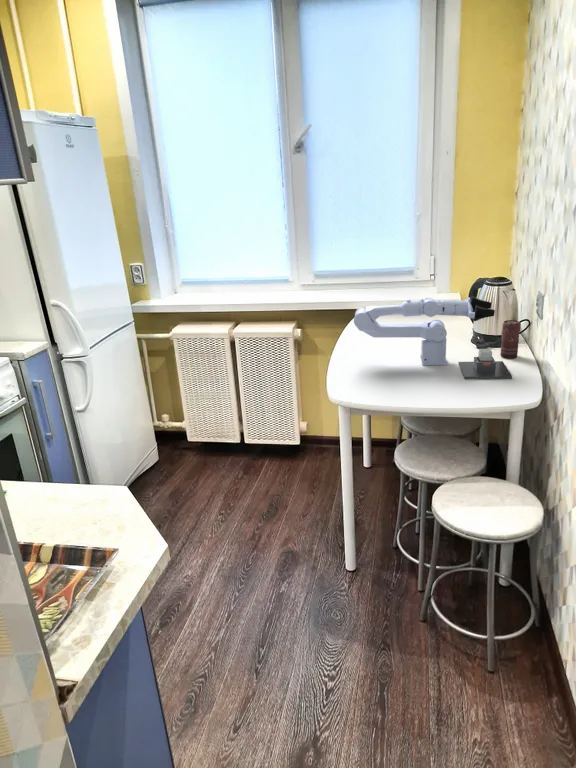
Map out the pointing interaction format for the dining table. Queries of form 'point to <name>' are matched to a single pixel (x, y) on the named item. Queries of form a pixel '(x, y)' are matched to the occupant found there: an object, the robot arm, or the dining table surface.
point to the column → (485, 355)
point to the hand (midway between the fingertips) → (492, 309)
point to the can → (510, 339)
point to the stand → (484, 370)
